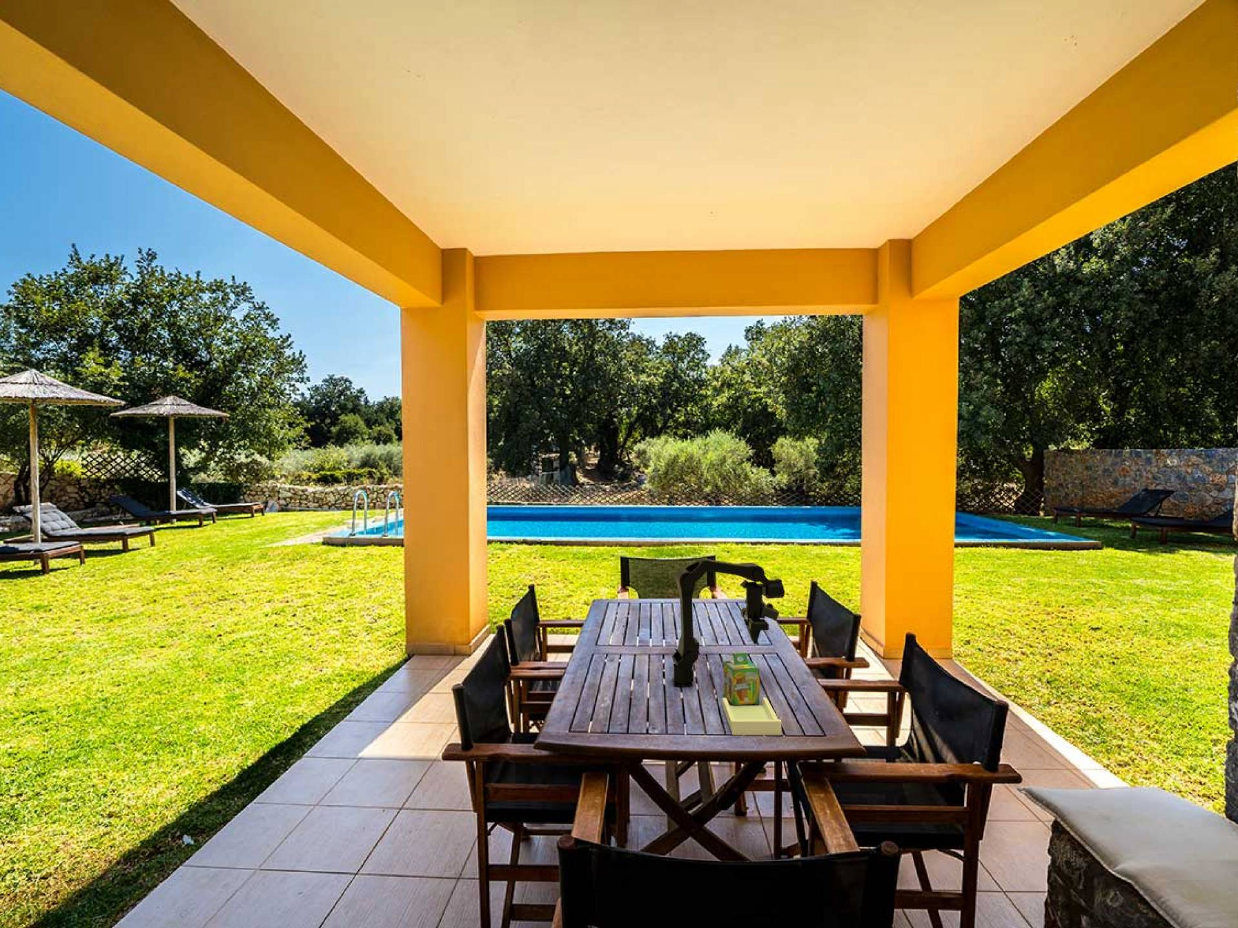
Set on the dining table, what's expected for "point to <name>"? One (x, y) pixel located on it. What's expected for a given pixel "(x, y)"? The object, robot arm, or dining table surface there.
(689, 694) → the dining table surface
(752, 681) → the chalk box
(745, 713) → the pale yellow tray
